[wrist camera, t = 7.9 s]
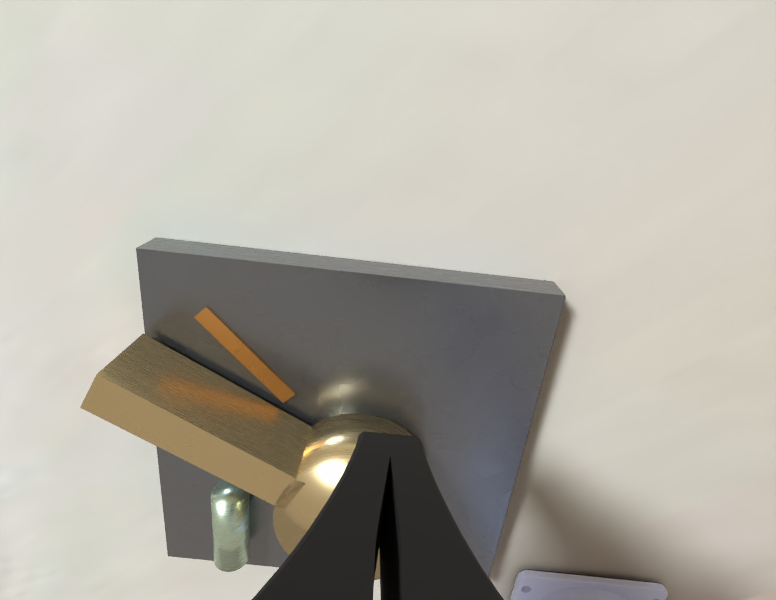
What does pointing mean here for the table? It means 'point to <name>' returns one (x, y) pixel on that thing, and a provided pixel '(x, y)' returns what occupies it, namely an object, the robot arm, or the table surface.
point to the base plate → (351, 373)
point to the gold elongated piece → (231, 432)
